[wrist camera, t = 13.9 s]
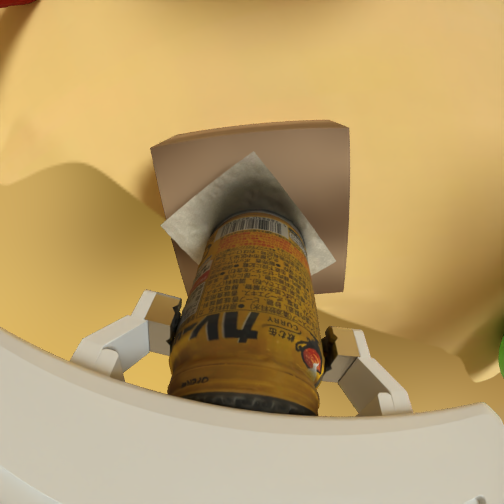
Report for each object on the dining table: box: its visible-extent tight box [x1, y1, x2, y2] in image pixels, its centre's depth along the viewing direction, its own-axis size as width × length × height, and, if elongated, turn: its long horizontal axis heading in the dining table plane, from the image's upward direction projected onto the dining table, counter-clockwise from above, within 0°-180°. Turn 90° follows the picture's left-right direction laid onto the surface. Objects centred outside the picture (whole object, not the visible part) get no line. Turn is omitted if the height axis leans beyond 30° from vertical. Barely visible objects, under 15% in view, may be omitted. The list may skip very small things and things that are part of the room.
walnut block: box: [150, 120, 350, 296], centre depth 21 cm, size 12×12×6 cm
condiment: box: [161, 151, 336, 416], centre depth 12 cm, size 7×8×12 cm
